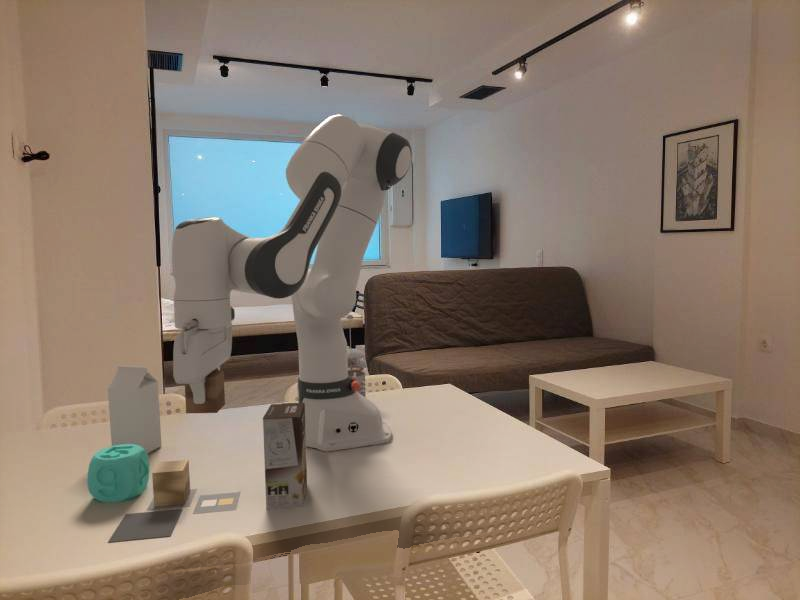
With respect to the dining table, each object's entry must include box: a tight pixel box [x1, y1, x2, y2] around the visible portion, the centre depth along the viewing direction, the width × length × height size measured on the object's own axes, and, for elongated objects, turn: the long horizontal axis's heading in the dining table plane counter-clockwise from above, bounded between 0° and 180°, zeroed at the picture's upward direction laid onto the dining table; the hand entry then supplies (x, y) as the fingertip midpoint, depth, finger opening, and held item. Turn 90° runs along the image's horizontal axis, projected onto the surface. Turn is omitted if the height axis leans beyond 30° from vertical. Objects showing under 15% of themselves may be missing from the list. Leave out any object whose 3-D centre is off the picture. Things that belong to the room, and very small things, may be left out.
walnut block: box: [184, 369, 226, 414], centre depth 95 cm, size 5×5×6 cm
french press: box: [346, 314, 367, 398], centre depth 160 cm, size 10×12×25 cm
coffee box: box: [262, 402, 308, 510], centre depth 99 cm, size 9×6×16 cm
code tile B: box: [146, 488, 198, 511], centre depth 100 cm, size 7×7×1 cm
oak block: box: [151, 459, 191, 507], centre depth 99 cm, size 5×5×6 cm
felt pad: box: [107, 508, 183, 544], centre depth 91 cm, size 9×9×1 cm
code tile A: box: [192, 491, 241, 515], centre depth 98 cm, size 7×7×1 cm
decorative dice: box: [86, 444, 150, 503], centre depth 103 cm, size 8×8×8 cm
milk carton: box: [107, 365, 162, 455], centre depth 123 cm, size 7×7×19 cm
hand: (206, 397), depth 95 cm, fingers closed on walnut block, 5 cm apart
